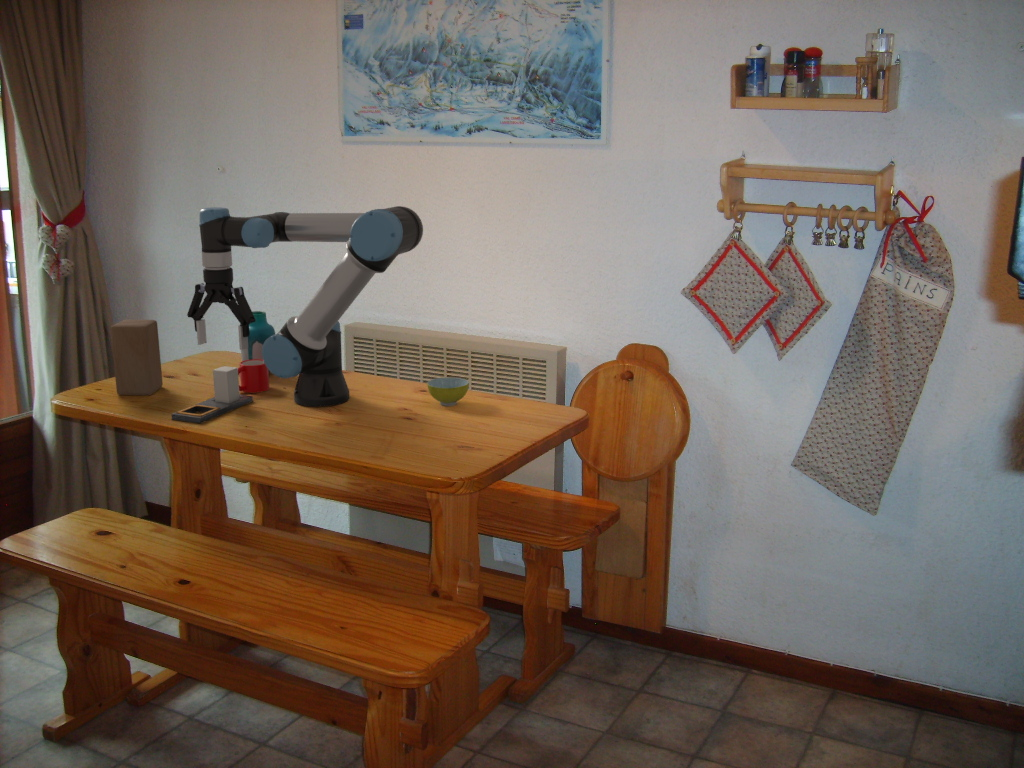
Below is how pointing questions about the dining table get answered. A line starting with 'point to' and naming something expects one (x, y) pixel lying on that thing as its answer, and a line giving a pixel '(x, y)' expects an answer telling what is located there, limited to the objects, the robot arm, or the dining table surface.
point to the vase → (257, 337)
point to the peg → (226, 384)
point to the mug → (253, 376)
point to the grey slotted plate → (209, 409)
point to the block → (136, 357)
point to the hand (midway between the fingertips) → (222, 346)
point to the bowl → (448, 390)
